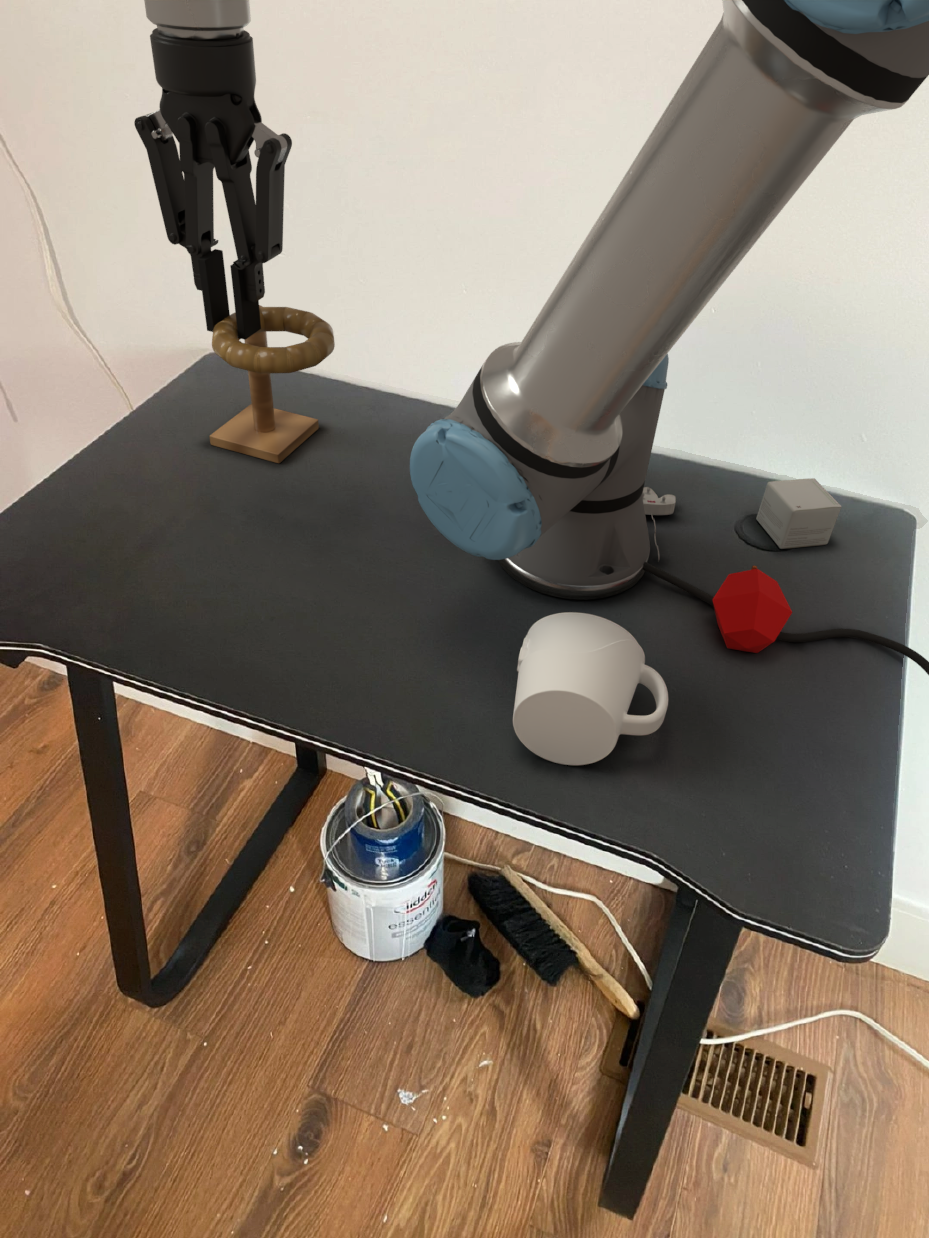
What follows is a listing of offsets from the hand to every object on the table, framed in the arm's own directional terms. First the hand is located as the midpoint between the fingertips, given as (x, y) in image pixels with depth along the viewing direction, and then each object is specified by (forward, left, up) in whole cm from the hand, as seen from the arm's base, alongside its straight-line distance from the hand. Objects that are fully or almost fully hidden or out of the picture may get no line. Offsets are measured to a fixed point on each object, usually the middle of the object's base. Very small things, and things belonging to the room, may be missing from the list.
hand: (234, 329), depth 84 cm
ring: (-4, 0, 0) cm, 4 cm away
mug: (-41, +16, -19) cm, 48 cm away
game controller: (-39, -14, -19) cm, 45 cm away
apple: (-51, -1, -19) cm, 54 cm away
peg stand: (+6, -12, -19) cm, 23 cm away
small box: (-53, -20, -19) cm, 60 cm away
